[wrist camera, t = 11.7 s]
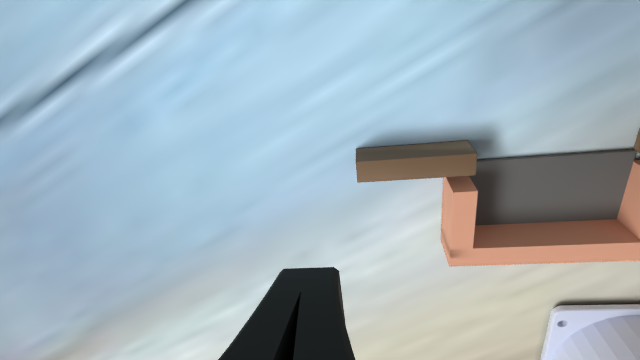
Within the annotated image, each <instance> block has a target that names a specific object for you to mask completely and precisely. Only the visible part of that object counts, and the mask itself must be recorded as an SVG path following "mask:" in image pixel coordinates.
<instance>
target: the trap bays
mask: <svg viewBox="0 0 640 360" xmlns="http://www.w3.org/2000/svg"><path fill="white" fill-rule="evenodd" d="M635 155H636V151H635V150H634V149H632V150H617V151H602V152H587V153H572V154H558V155H543V156H528V157H513V158H498V159H483V160H477V162H476V174H475V175H471V176H455V177H443V197H442V224H441V243H442V246H443V249H444V252H445V255H446V258H447V261H448V264H449V266H478V265H511V264H543V263H575V262H608V261H640V159H635V160H634V158H635Z"/></svg>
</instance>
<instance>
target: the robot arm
mask: <svg viewBox="0 0 640 360" xmlns="http://www.w3.org/2000/svg"><path fill="white" fill-rule="evenodd" d="M218 360H355V357H354V354H353V351H352V348H351V344H350V340H349V337H348V333H347V330H346V326H345V318H344V309H343V301H342V293H341V285H340V276H339V271H338V270H337V269H335V268H334V267H327V268H295V269H283V270H282V271H281V272H280V273H279V275H278V277H277V278H276V280H275V281H274V283H273V284H272V286H271V287H270V289H269V290H268V292H267V294H266V295H265V297H264V298H263V300H262V301H261V302H260V304H259V305H258V307H257V308H256V310H255V311H254V313H253V314H252V316H251V317H250V318H249V320H248V321H247V322H246V324H245V325H244V327H243V328H242V329H241V331H240V332H239V333H238V335H237V336H236V338H235V339H234V340H233V342H232V343H231V344H230V346H229V347H228V348H227V349H226V351H225V352H224V353H223V354H222V356H221V357H220V358H219V359H218ZM540 360H640V304H625V305H564V306H557V307H555V308H554V309H553V310H552V312H551V315H550V319H549V324H548V328H547V333H546V337H545V341H544V346H543V350H542V355H541V359H540Z"/></svg>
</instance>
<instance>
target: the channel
mask: <svg viewBox="0 0 640 360" xmlns="http://www.w3.org/2000/svg"><path fill="white" fill-rule="evenodd" d="M634 150H635V151H637V152H639V153H640V129H639V132H638V135H637V139H636V142H635V146H634ZM476 162H477V153H476V151H475V150H474V149H473V147H472V146H471V144H470V143H469V142H468V140H466V141H453V142H439V143H426V144H413V145H399V146H386V147H372V148H359V149H356V170H357V182H358V183H359V182H375V181H391V180H407V179H423V178H439V177H455V176H471V175H475V174H476Z"/></svg>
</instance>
